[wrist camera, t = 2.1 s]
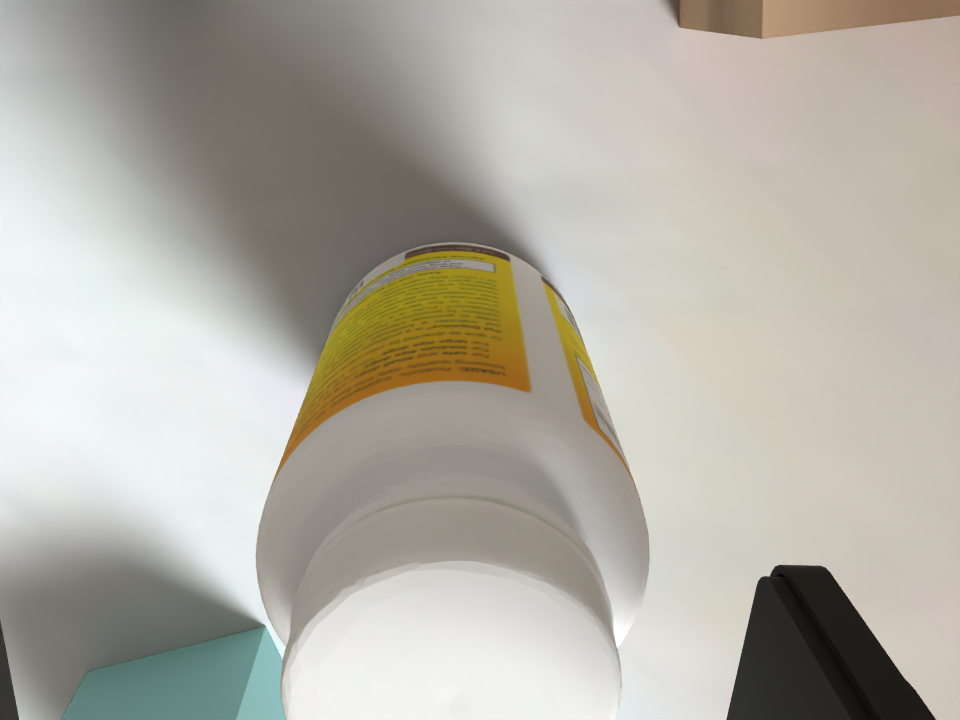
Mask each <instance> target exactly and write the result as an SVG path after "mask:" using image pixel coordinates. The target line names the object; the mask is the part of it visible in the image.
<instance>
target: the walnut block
mask: <svg viewBox="0 0 960 720" xmlns="http://www.w3.org/2000/svg"><path fill="white" fill-rule="evenodd" d="M958 15H960V0H679V22H680V28H686V29H694V30H701V31H709V32H716V33H724V34H731V35H738V36H746V37H753V38H761V39H764V38H772V37H781V36H789V35H798V34H806V33H814V32H823V31H831V30H840V29H848V28H857V27H865V26H874V25H882V24H890V23H899V22H907V21H916V20H924V19H933V18H941V17H950V16H958Z"/></svg>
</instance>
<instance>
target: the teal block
mask: <svg viewBox="0 0 960 720" xmlns="http://www.w3.org/2000/svg"><path fill="white" fill-rule="evenodd" d="M282 663H283V660H282V658H281V656H280V654H279V652H278V650H277V648H276V646H275V644H274V642H273V640H272V638H271V636H270V634H269V632H268V630H267V628H266V626H264V627H260V628H256V629H252V630H248V631H244V632H240V633H236V634H232V635H229V636H225V637H221V638H217V639H213V640H209V641H205V642H201V643H197V644H193V645H189V646H185V647H182V648H178V649H174V650H170V651H166V652H162V653H158V654H154V655H150V656H146V657H142V658H139V659H135V660H131V661H127V662H123V663H119V664H115V665H111V666H107V667H103V668H99V669H95V670H92V671H88V672H87V673H86V675H85V677H84V679H83V681H82V682H81V684H80V686H79V688H78V689H77V691H76V693H75V695H74V697H73V698H72V700H71V702H70V704H69V706H68V707H67V709H66V711H65V713H64V714H63V716H62V718H61V720H286V718H285V715H284V710H283V705H282V700H281V687H280V684H281V670H282Z"/></svg>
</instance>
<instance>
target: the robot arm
mask: <svg viewBox="0 0 960 720" xmlns="http://www.w3.org/2000/svg"><path fill="white" fill-rule="evenodd" d="M0 720H19V717H18V712H17V706H16V701H15V696H14V690H13V685H12V680H11V675H10V669H9V664H8V659H7V653H6V648H5V643H4V638H3V632H2V627H1V622H0ZM727 720H936V719H935V718H934V716H933V715H932V713H931V712H930V710H929V709H928V708H927V706H926V705H925V703H924V702H923V701H922V699H921V698H920V696H919V695H918V693H917V692H916V691H915V689H914V688H913V687H912V686H911V685H910V684H909V683H908V682H907V681H906V680H905V679H904V677H903V676H902V674H901V673H900V672H899V670H898V669H897V667H896V666H895V664H894V663H893V662H892V660H891V659H890V657H889V656H888V654H887V653H886V652H885V650H884V649H883V647H882V646H881V644H880V643H879V642H878V640H877V639H876V637H875V636H874V634H873V633H872V632H871V630H870V629H869V627H868V626H867V624H866V623H865V622H864V620H863V619H862V617H861V616H860V614H859V613H858V612H857V610H856V609H855V607H854V606H853V605H852V603H851V602H850V600H849V599H848V597H847V596H846V595H845V593H844V592H843V590H842V589H841V587H840V586H839V585H838V583H837V582H836V580H835V579H834V577H833V576H832V575H831V573H830V572H829V571H828V570H827V569H826V568H825V567H822V566H804V565H778V566H776V567H775V568H774V569H773V571H772V572H771V575H770V577H767V576H764V577H761V578H760V580H759V581H758V584H757V587H756V592H755V596H754V600H753V605H752V609H751V614H750V618H749V623H748V627H747V631H746V636H745V640H744V645H743V649H742V653H741V658H740V662H739V667H738V671H737V676H736V680H735V684H734V689H733V693H732V698H731V702H730V707H729V711H728V715H727Z"/></svg>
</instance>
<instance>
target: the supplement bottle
mask: <svg viewBox="0 0 960 720" xmlns="http://www.w3.org/2000/svg"><path fill="white" fill-rule="evenodd" d="M256 568H257V577H258V584H259V588H260V593H261V598H262V601H263V604H264V607H265V610H266V613H267V615H268V618H269V620H270V622H271V624H272V626H273V628H274V630H275V631H276V633H277V635H278V636H279V638H280V639H281V641H282V642H283V644H284V645H285V646H286V650H285V654H284V657H283V663H282V670H281V684H280V687H281V700H282V705H283V710H284V715H285V718H286V720H615V719H616V716H617V713H618V708H619V704H620V697H621V688H622V683H621V666H620V659H619V654H618V650H617V648H618V647H619V645H620V644H621V643H622V641H623V640H624V638H625V636H626V634H627V633H628V631H629V629H630V627H631V626H632V624H633V622H634V620H635V618H636V616H637V613H638V611H639V608H640V606H641V603H642V599H643V596H644V593H645V588H646V583H647V577H648V570H649V537H648V530H647V525H646V520H645V516H644V512H643V508H642V505H641V501H640V497H639V494H638V491H637V489H636V486H635V483H634V480H633V478H632V476H631V473H630V470H629V466H628V463H627V461H626V458H625V456H624V453H623V450H622V448H621V445H620V442H619V439H618V436H617V434H616V431H615V428H614V425H613V423H612V420H611V417H610V413H609V410H608V408H607V405H606V402H605V400H604V397H603V394H602V391H601V388H600V386H599V383H598V380H597V378H596V375H595V372H594V370H593V367H592V364H591V361H590V358H589V356H588V353H587V350H586V348H585V345H584V343H583V339H582V337H581V334H580V331H579V329H578V326H577V324H576V321H575V319H574V317H573V315H572V313H571V311H570V309H569V307H568V305H567V304H566V302H565V300H564V299H563V297H562V296H561V294H560V293H559V292H558V291H557V289H556V288H555V287H554V286H553V285H552V284H551V283H550V281H549V280H548V279H547V278H546V277H544V276H543V275H542V274H541V273H540V272H539V271H538V270H536V269H535V268H534V267H532V266H531V265H529V264H528V263H526V262H525V261H523V260H521V259H519V258H518V257H516V256H513V255H511V254H509V253H507V252H505V251H502V250H499V249H496V248H493V247H489V246H485V245H480V244H475V243H466V242H443V243H433V244H427V245H422V246H419V247H415V248H412V249H409V250H407V251H404V252H402V253H399V254H397V255H395V256H393V257H391V258H390V259H388V260H386V261H384V262H383V263H381V264H380V265H378V266H377V267H376V268H374V269H373V270H372V271H371V272H369V273H368V274H367V275H366V276H365V277H364V278H363V279H362V280H361V281H360V282H359V283H358V284H357V285H356V286H355V288H354V289H353V290H352V291H351V292H350V294H349V295H348V297H347V298H346V300H345V301H344V303H343V304H342V306H341V308H340V310H339V311H338V313H337V316H336V318H335V320H334V322H333V324H332V327H331V330H330V333H329V336H328V338H327V340H326V343H325V346H324V348H323V351H322V353H321V356H320V358H319V361H318V364H317V367H316V369H315V372H314V375H313V377H312V380H311V383H310V385H309V388H308V391H307V393H306V396H305V399H304V401H303V404H302V406H301V409H300V412H299V414H298V417H297V419H296V422H295V425H294V428H293V430H292V433H291V435H290V438H289V441H288V443H287V446H286V449H285V451H284V454H283V457H282V459H281V462H280V465H279V467H278V470H277V472H276V475H275V477H274V480H273V483H272V485H271V488H270V491H269V494H268V497H267V500H266V503H265V506H264V509H263V513H262V517H261V520H260V524H259V531H258V538H257V546H256Z"/></svg>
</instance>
